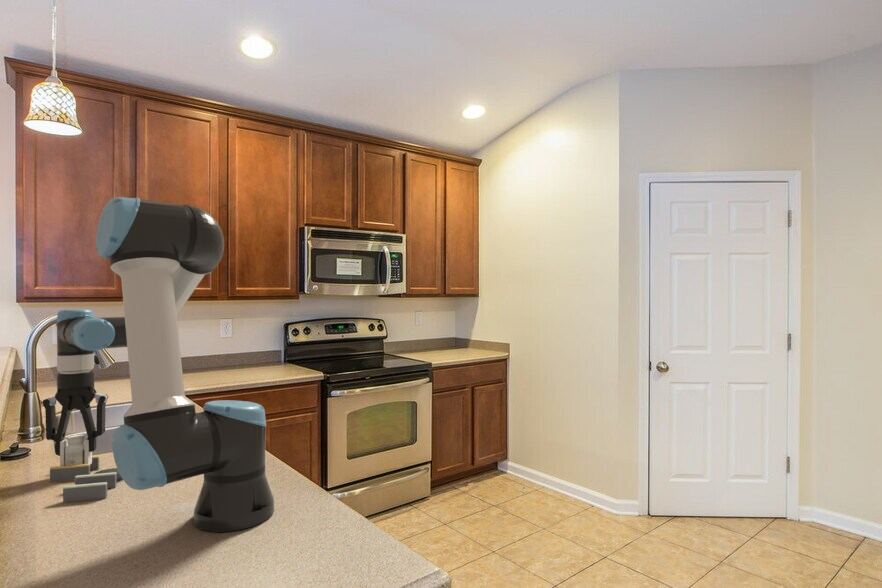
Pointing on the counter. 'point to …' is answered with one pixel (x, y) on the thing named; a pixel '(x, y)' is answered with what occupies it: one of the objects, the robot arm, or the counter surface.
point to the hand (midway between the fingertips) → (76, 465)
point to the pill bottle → (75, 450)
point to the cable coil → (118, 476)
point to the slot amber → (73, 470)
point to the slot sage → (89, 487)
